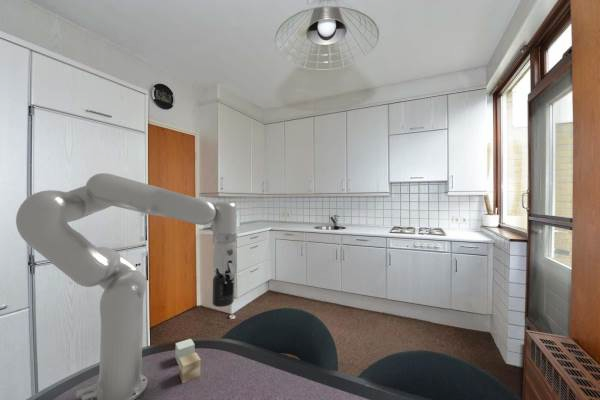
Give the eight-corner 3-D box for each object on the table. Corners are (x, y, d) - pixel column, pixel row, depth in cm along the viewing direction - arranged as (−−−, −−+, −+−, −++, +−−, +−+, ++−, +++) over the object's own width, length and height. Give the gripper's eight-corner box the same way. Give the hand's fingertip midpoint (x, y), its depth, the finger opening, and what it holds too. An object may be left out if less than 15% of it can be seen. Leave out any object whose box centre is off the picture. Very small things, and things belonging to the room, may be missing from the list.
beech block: (182, 383, 71) (183, 365, 72) (178, 374, 75) (179, 357, 75) (200, 376, 74) (200, 359, 75) (195, 368, 78) (196, 352, 79)
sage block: (178, 365, 80) (178, 349, 80) (175, 358, 84) (175, 343, 84) (194, 359, 83) (194, 344, 83) (190, 352, 87) (190, 338, 87)
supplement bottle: (236, 300, 84) (237, 265, 85) (228, 308, 77) (229, 270, 78) (218, 299, 85) (219, 264, 86) (208, 306, 78) (209, 269, 79)
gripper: (246, 240, 78) (245, 297, 77) (225, 236, 91) (224, 284, 90) (223, 242, 73) (221, 302, 72) (204, 237, 87) (203, 287, 86)
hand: (223, 291), depth 81 cm, fingers closed on supplement bottle, 6 cm apart
